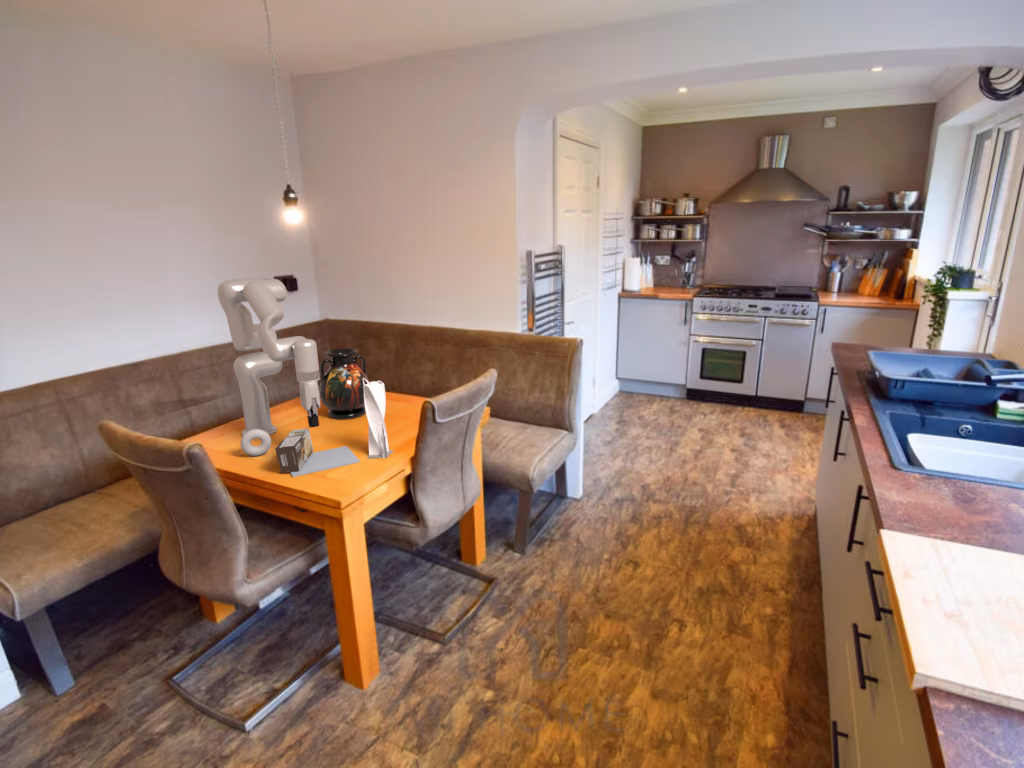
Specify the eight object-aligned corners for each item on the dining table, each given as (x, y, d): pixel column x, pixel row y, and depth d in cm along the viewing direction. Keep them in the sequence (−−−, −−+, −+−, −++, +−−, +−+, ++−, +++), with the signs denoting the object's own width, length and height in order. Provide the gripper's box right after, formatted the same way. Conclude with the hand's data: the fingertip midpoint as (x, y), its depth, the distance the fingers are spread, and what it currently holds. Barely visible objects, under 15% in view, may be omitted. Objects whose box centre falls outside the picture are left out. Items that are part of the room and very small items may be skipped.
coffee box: (290, 430, 195) (274, 447, 180) (309, 427, 195) (293, 444, 180) (296, 454, 198) (280, 473, 182) (314, 452, 198) (299, 470, 182)
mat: (283, 460, 194) (283, 458, 194) (346, 447, 205) (346, 445, 204) (292, 477, 180) (292, 475, 180) (359, 462, 191) (359, 460, 191)
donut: (242, 459, 194) (238, 433, 192) (242, 456, 198) (238, 429, 195) (273, 454, 198) (269, 428, 196) (272, 451, 202) (269, 425, 199)
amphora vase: (328, 425, 228) (321, 359, 220) (316, 411, 246) (310, 349, 238) (379, 416, 238) (374, 352, 231) (365, 403, 256) (360, 344, 249)
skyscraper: (363, 458, 195) (356, 381, 188) (372, 449, 203) (365, 374, 195) (386, 459, 194) (380, 381, 186) (394, 450, 202) (389, 375, 194)
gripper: (292, 372, 195) (298, 422, 200) (301, 382, 182) (307, 434, 187) (314, 369, 198) (319, 418, 203) (324, 378, 186) (330, 430, 191)
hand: (313, 426), depth 195 cm, fingers closed
